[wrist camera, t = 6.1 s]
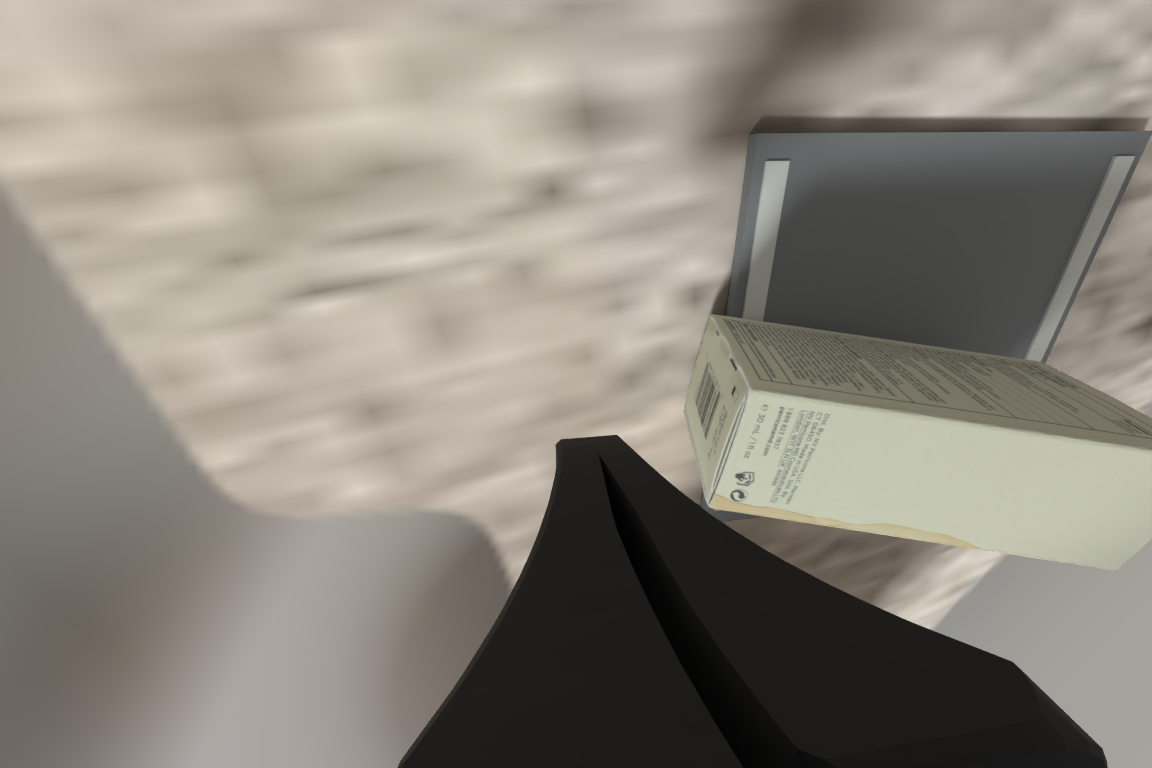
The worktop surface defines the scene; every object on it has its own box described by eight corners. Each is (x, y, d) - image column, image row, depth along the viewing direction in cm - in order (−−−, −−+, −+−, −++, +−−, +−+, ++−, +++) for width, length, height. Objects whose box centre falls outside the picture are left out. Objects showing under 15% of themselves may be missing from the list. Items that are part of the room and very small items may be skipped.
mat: (976, 484, 24) (987, 491, 23) (699, 516, 22) (704, 525, 21) (1135, 131, 17) (1156, 130, 16) (749, 134, 15) (758, 132, 14)
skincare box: (701, 511, 14) (1119, 586, 13) (748, 379, 11) (1247, 465, 11) (680, 404, 19) (974, 456, 19) (710, 303, 17) (1040, 358, 17)
